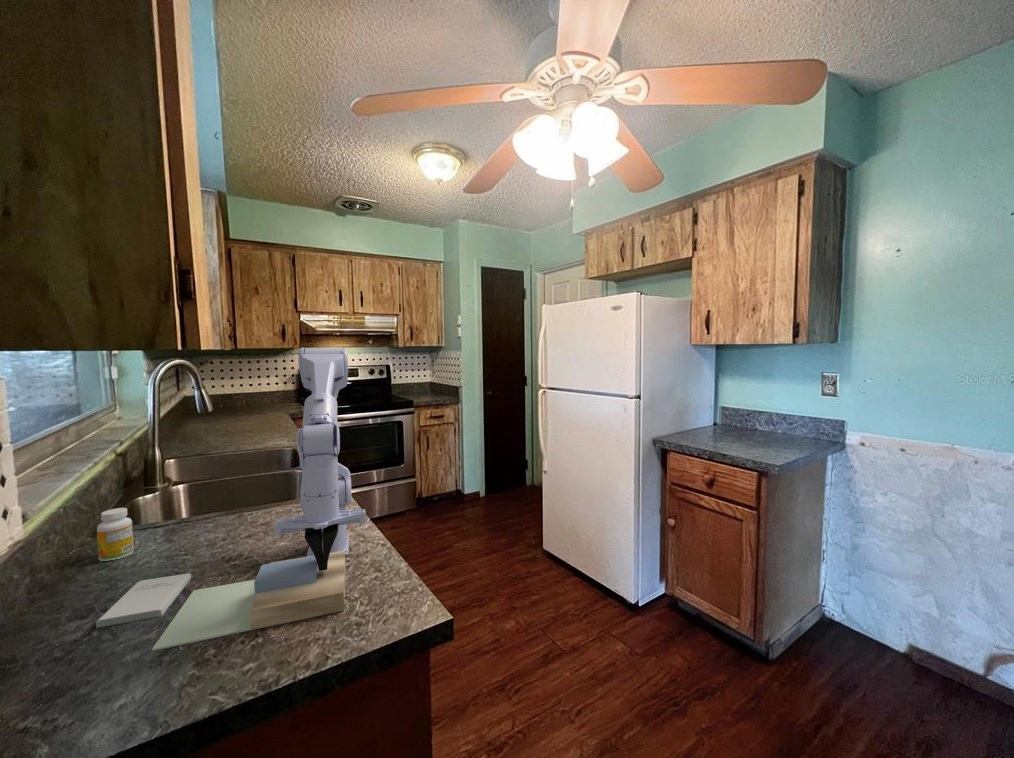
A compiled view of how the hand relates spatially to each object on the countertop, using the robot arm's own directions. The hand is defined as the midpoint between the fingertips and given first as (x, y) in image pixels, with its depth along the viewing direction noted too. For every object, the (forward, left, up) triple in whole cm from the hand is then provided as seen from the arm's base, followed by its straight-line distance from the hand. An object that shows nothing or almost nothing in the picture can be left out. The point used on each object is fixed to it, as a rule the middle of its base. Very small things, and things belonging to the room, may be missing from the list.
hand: (323, 568), depth 72 cm
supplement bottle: (-31, -42, -4) cm, 52 cm away
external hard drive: (-8, -28, -5) cm, 29 cm away
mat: (0, -16, -4) cm, 16 cm away
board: (0, -3, -4) cm, 5 cm away
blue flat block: (0, -5, -1) cm, 5 cm away
